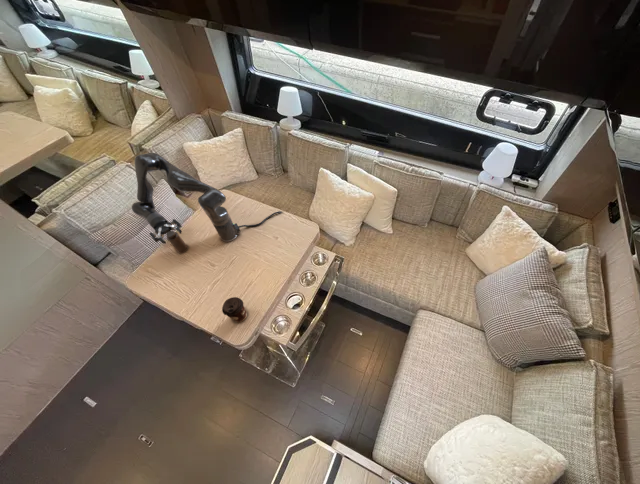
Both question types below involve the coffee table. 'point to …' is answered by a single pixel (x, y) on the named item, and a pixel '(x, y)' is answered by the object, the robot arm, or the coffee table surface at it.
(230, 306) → the dark brown cylinder
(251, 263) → the coffee table surface
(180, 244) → the pepper mill
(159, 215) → the robot arm
